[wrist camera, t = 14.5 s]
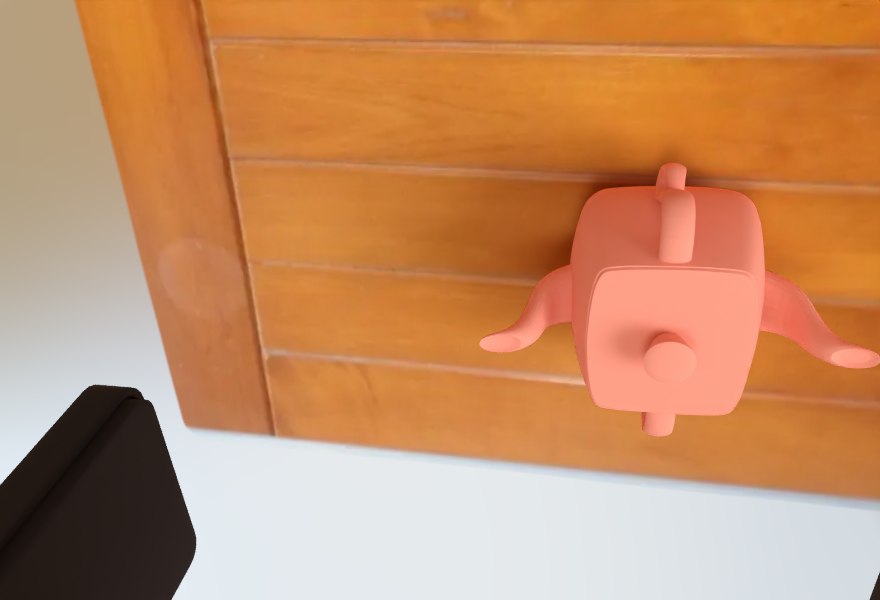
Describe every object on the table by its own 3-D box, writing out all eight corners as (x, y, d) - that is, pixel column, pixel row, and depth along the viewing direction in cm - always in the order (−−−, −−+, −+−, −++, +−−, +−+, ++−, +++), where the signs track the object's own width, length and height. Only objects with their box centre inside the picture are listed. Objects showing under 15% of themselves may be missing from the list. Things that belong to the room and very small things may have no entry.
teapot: (500, 248, 56) (474, 353, 46) (694, 94, 48) (716, 179, 38) (635, 378, 60) (639, 501, 50) (835, 257, 52) (890, 374, 42)
